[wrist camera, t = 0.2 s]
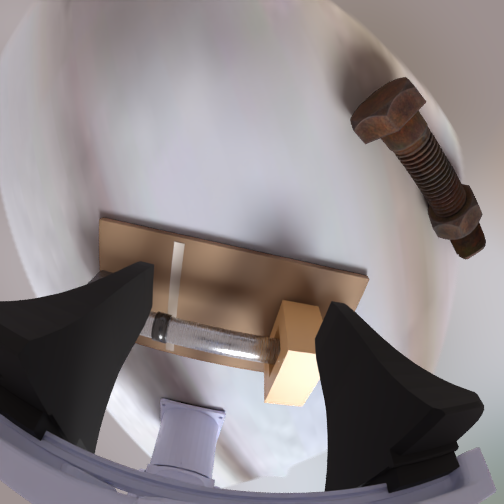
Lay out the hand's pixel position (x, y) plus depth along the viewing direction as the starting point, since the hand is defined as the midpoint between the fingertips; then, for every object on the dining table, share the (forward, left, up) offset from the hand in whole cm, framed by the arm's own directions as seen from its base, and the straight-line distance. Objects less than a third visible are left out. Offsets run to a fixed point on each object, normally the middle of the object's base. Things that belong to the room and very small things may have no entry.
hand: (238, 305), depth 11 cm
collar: (-8, -5, -9) cm, 13 cm away
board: (-8, +1, -10) cm, 13 cm away
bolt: (+7, -12, -11) cm, 18 cm away
